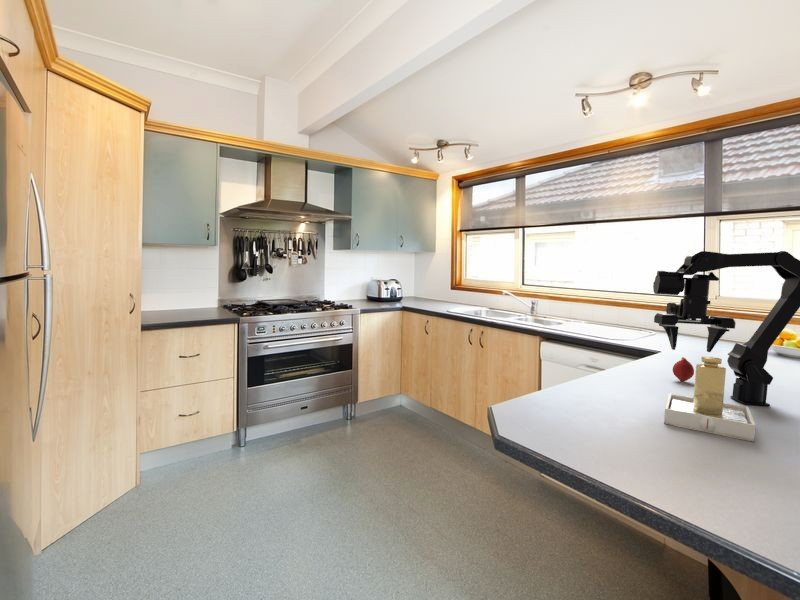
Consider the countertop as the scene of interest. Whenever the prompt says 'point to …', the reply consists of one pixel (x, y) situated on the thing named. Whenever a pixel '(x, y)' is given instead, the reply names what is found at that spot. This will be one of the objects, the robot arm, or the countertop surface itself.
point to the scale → (710, 421)
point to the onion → (683, 370)
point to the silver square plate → (726, 414)
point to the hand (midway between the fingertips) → (690, 350)
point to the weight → (709, 386)
